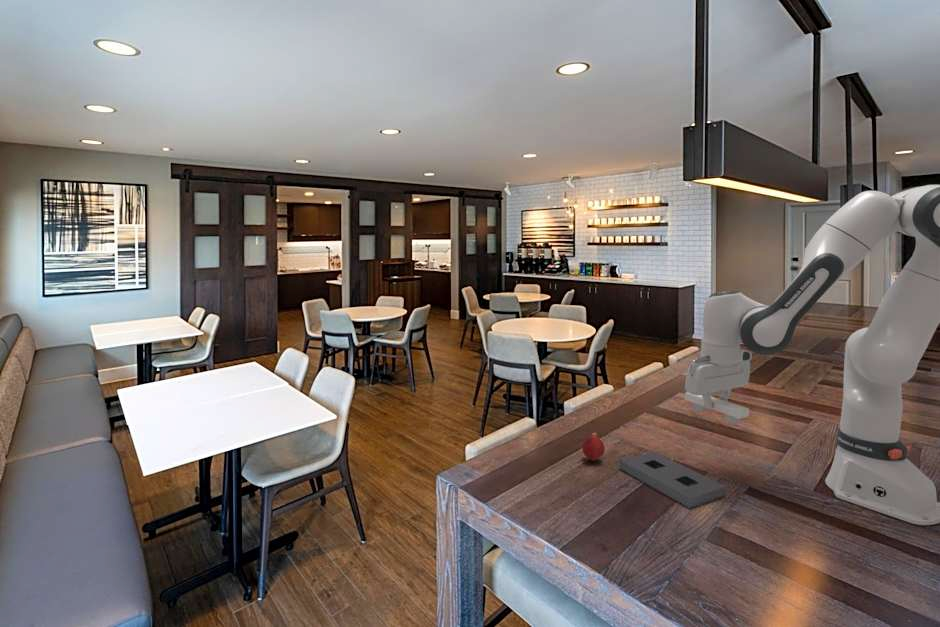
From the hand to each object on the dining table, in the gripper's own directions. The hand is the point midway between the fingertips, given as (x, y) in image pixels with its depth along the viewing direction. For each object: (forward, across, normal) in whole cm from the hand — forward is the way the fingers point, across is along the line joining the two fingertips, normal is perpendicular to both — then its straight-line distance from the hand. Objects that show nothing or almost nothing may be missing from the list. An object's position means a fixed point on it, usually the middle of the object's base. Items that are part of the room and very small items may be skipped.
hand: (715, 406), depth 130 cm
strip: (+2, 0, 0) cm, 2 cm away
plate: (+17, -15, 0) cm, 23 cm away
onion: (+17, -24, +18) cm, 35 cm away
